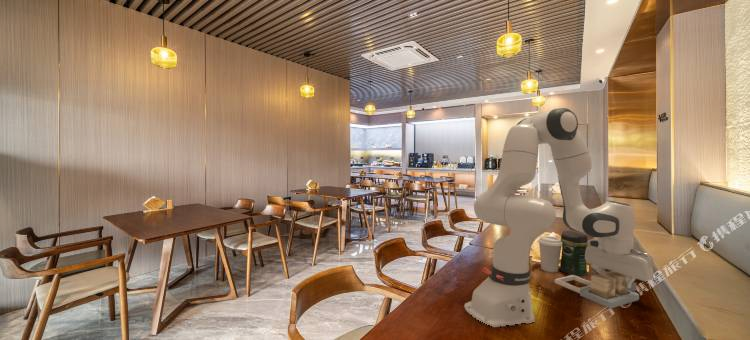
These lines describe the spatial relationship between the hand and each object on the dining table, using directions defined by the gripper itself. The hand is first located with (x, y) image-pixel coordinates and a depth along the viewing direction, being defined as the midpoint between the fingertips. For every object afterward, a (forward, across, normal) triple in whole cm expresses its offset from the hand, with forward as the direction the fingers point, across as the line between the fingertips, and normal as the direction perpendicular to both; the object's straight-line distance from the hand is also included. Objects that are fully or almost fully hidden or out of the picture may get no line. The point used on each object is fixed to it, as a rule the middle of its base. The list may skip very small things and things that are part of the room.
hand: (615, 283), depth 107 cm
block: (+5, 0, 0) cm, 5 cm away
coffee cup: (+6, +27, -1) cm, 28 cm away
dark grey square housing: (+6, +3, -8) cm, 10 cm away
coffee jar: (+6, +21, -8) cm, 23 cm away
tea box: (+6, +14, -23) cm, 28 cm away
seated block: (+5, 0, +7) cm, 9 cm away
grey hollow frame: (+6, 0, +4) cm, 7 cm away
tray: (+6, +11, +5) cm, 13 cm away
